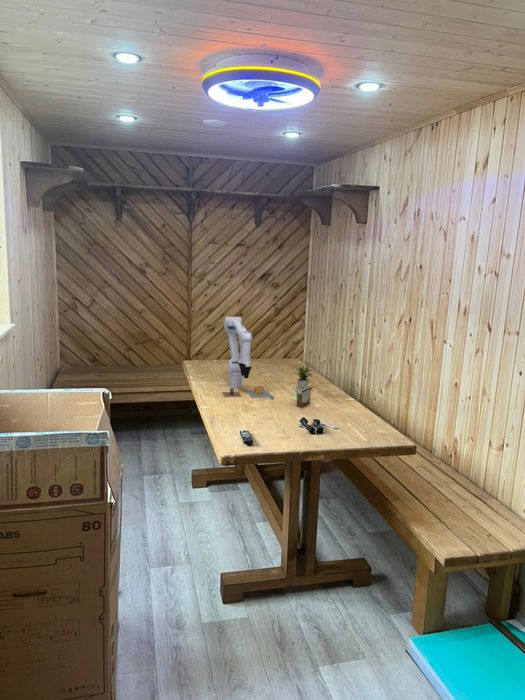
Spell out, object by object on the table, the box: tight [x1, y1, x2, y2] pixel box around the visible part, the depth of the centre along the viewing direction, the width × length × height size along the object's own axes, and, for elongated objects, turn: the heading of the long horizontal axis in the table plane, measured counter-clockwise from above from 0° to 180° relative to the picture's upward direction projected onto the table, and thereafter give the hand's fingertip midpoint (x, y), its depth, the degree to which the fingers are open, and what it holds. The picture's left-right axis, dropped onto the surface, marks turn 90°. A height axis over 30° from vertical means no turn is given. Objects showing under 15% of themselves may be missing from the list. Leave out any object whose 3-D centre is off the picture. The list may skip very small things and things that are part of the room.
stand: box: [221, 387, 243, 398], centre depth 310 cm, size 12×10×4 cm
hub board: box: [244, 389, 275, 400], centre depth 313 cm, size 18×13×4 cm
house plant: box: [294, 363, 316, 387], centre depth 330 cm, size 14×14×16 cm
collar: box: [253, 385, 265, 395], centre depth 313 cm, size 6×6×4 cm
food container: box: [294, 385, 312, 409], centre depth 295 cm, size 12×6×10 cm, turn 149°
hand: (244, 376), depth 314 cm, fingers open, 7 cm apart
